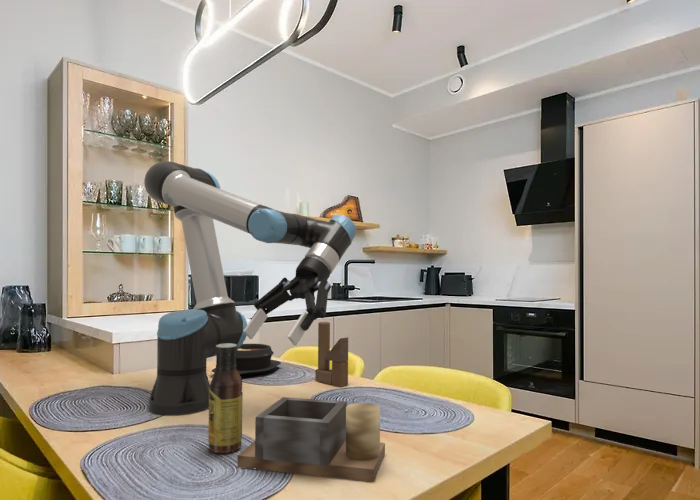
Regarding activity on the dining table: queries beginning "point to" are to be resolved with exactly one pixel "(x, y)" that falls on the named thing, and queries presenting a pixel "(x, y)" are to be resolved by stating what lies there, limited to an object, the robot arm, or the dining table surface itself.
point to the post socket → (317, 439)
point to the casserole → (254, 359)
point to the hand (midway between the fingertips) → (268, 338)
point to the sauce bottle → (225, 402)
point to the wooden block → (331, 358)
